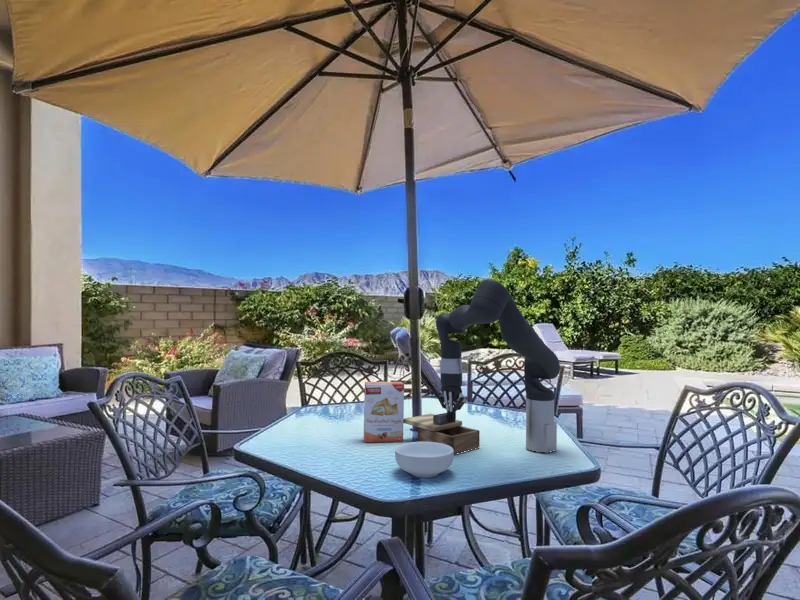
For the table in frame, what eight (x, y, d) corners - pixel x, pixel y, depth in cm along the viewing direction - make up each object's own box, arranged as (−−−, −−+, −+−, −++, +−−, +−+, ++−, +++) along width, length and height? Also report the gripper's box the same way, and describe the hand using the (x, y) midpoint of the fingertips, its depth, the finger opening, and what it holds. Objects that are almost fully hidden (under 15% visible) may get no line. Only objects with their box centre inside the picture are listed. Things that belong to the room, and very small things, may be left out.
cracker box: (364, 443, 166) (365, 383, 167) (363, 438, 172) (364, 381, 173) (403, 442, 168) (404, 383, 168) (401, 437, 174) (402, 380, 174)
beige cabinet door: (462, 425, 168) (462, 412, 168) (434, 431, 158) (434, 418, 158) (430, 417, 180) (430, 405, 180) (402, 422, 170) (403, 410, 171)
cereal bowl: (449, 463, 144) (449, 440, 145) (457, 483, 128) (457, 457, 128) (394, 463, 144) (394, 440, 144) (395, 483, 127) (395, 457, 128)
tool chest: (479, 448, 161) (479, 430, 162) (451, 456, 152) (451, 437, 152) (445, 438, 173) (445, 422, 174) (417, 445, 164) (417, 427, 164)
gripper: (429, 370, 165) (430, 420, 164) (458, 374, 155) (458, 427, 154) (444, 368, 170) (444, 417, 169) (473, 372, 160) (473, 423, 159)
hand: (451, 421), depth 162 cm, fingers closed
